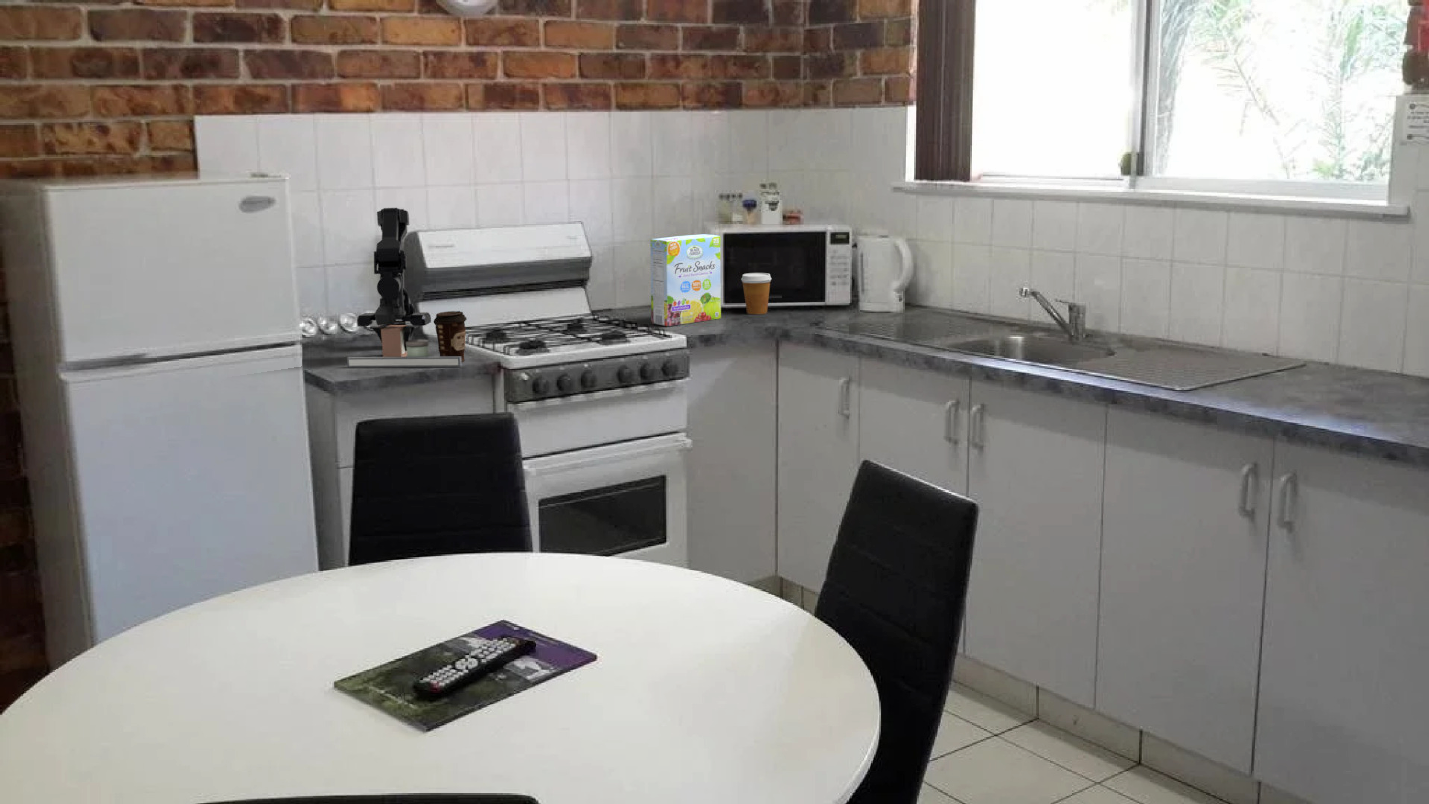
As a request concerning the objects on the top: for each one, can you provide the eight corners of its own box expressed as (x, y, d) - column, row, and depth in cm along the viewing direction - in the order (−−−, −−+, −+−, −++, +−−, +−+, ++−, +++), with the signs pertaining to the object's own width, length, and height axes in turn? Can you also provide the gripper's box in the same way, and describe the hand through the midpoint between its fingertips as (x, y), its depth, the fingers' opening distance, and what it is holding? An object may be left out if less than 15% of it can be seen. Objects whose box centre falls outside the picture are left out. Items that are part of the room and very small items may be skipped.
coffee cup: (473, 358, 358) (470, 310, 355) (465, 364, 350) (461, 315, 347) (441, 359, 359) (438, 310, 356) (432, 365, 351) (428, 315, 348)
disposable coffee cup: (735, 313, 423) (734, 275, 420) (754, 309, 430) (754, 272, 427) (759, 316, 417) (758, 277, 414) (778, 312, 424) (777, 273, 421)
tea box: (383, 359, 361) (380, 329, 359) (392, 354, 368) (389, 325, 366) (401, 359, 361) (399, 329, 359) (410, 354, 367) (408, 325, 366)
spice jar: (411, 361, 356) (409, 339, 355) (432, 361, 356) (431, 339, 354) (404, 366, 351) (402, 343, 349) (426, 366, 350) (424, 343, 349)
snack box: (668, 327, 400) (665, 240, 394) (650, 324, 406) (647, 238, 401) (723, 318, 414) (721, 234, 408) (704, 315, 420) (702, 232, 414)
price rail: (349, 366, 352) (348, 357, 351) (461, 365, 349) (461, 356, 348) (347, 367, 350) (346, 358, 350) (460, 367, 347) (459, 357, 347)
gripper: (347, 298, 354) (352, 356, 357) (416, 297, 352) (420, 356, 355) (362, 292, 365) (367, 349, 368) (429, 291, 363) (433, 348, 366)
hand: (396, 351), depth 364 cm, fingers closed on tea box, 5 cm apart
